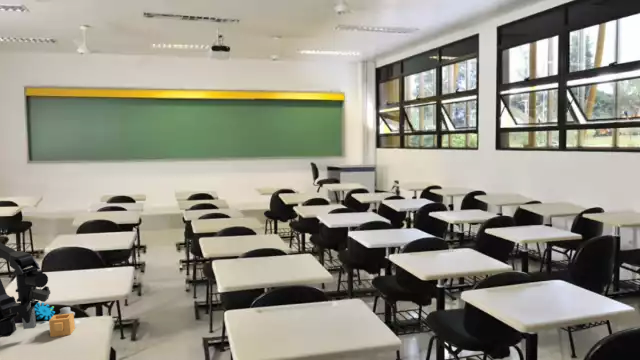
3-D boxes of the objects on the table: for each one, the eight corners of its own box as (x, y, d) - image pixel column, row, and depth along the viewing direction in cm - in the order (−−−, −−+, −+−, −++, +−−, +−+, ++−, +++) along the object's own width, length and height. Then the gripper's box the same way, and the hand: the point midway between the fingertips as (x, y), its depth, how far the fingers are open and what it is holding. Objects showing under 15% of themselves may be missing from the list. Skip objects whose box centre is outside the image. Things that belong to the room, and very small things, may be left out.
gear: (44, 320, 219) (30, 304, 221) (36, 329, 220) (22, 313, 222) (61, 314, 230) (48, 298, 232) (54, 323, 231) (41, 307, 232)
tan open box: (48, 338, 204) (46, 319, 203) (59, 325, 218) (58, 306, 217) (69, 336, 205) (67, 317, 204) (78, 323, 219) (77, 304, 218)
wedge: (23, 329, 202) (21, 310, 201) (25, 326, 205) (23, 308, 204) (34, 328, 203) (32, 309, 202) (36, 325, 206) (34, 307, 205)
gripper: (38, 290, 194) (42, 328, 196) (54, 276, 213) (57, 311, 214) (7, 293, 192) (11, 331, 194) (25, 278, 210) (29, 313, 212)
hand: (29, 321), depth 204 cm, fingers closed on wedge, 2 cm apart
